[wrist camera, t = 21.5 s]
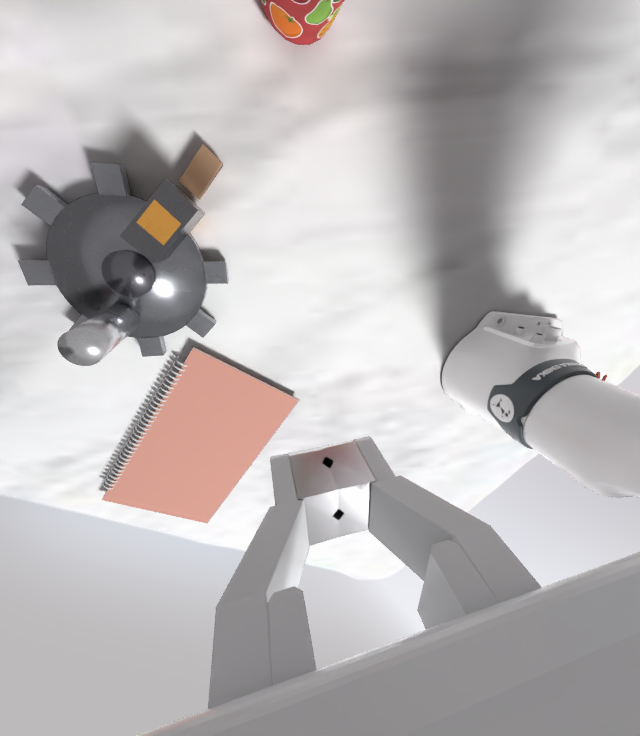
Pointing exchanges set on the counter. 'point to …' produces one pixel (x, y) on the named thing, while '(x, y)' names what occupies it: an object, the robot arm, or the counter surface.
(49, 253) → the sprocket
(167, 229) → the grey and orange block
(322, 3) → the smoothie
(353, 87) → the counter surface
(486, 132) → the counter surface
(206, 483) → the notebook
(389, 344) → the counter surface
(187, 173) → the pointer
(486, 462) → the counter surface
